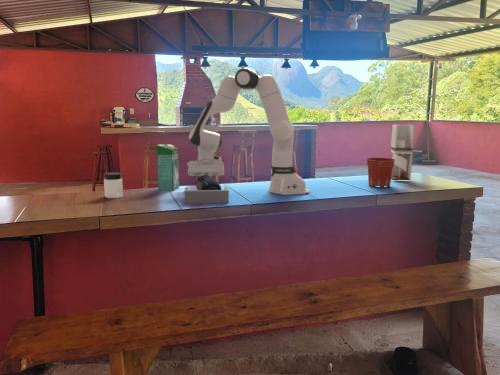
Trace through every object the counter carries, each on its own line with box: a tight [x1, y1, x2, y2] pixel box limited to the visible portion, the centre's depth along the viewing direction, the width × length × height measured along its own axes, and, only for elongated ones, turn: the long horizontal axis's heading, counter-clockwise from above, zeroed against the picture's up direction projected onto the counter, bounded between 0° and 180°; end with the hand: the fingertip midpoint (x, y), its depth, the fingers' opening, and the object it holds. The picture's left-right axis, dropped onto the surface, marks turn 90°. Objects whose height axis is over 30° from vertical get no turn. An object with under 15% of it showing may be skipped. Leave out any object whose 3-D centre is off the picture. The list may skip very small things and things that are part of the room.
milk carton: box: [156, 143, 180, 192], centre depth 237 cm, size 9×9×25 cm
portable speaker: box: [195, 175, 222, 190], centre depth 219 cm, size 25×10×10 cm, turn 16°
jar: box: [103, 171, 124, 199], centre depth 217 cm, size 9×8×12 cm
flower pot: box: [365, 157, 395, 187], centre depth 252 cm, size 16×16×16 cm
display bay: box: [183, 186, 230, 204], centre depth 209 cm, size 21×10×6 cm, turn 96°
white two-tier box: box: [390, 124, 415, 181], centre depth 270 cm, size 11×11×35 cm
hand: (206, 180), depth 233 cm, fingers closed
